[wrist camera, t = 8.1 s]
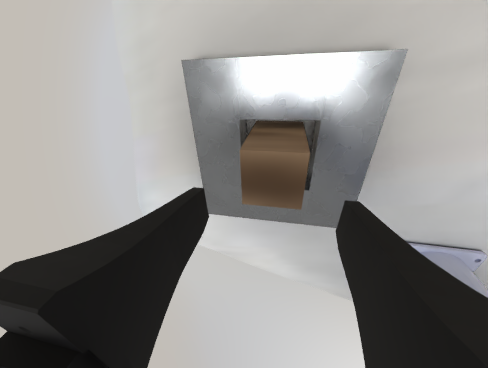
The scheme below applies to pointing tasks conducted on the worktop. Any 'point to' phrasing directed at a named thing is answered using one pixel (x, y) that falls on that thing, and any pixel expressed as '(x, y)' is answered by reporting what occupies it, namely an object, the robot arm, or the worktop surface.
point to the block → (274, 164)
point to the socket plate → (291, 108)
